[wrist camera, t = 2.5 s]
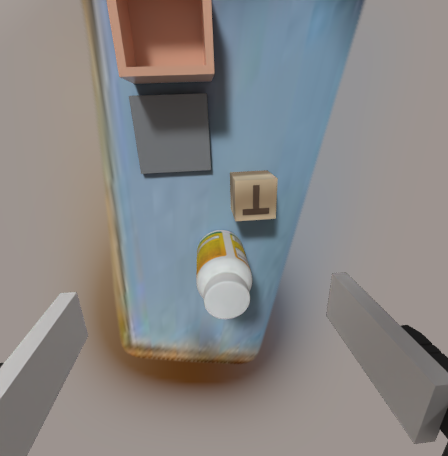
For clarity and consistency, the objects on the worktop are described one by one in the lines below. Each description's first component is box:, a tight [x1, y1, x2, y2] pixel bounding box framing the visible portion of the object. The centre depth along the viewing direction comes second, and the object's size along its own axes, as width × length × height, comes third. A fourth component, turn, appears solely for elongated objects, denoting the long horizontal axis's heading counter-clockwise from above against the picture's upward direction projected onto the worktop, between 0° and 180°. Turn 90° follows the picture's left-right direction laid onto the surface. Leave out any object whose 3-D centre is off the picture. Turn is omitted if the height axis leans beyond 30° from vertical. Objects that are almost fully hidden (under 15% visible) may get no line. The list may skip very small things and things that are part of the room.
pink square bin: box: [107, 0, 215, 84], centre depth 21 cm, size 7×7×5 cm
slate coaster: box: [129, 93, 211, 174], centre depth 26 cm, size 7×7×1 cm
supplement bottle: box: [197, 230, 252, 319], centre depth 27 cm, size 5×5×10 cm
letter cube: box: [230, 171, 277, 221], centre depth 27 cm, size 4×4×4 cm
